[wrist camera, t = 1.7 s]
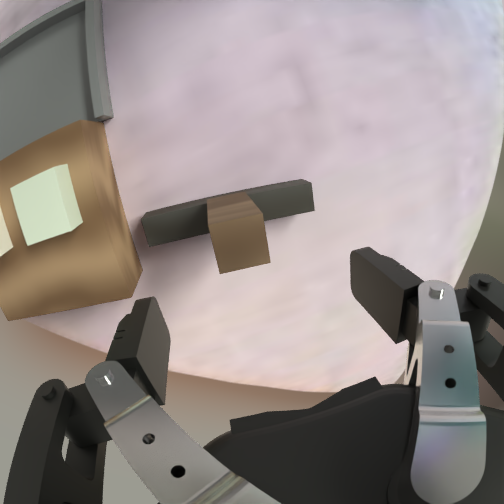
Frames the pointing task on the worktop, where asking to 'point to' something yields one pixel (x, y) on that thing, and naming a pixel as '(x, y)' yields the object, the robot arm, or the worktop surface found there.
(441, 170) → the worktop surface
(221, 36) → the worktop surface
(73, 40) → the bin
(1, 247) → the tile
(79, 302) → the board
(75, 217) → the tile
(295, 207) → the scraper
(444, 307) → the robot arm
